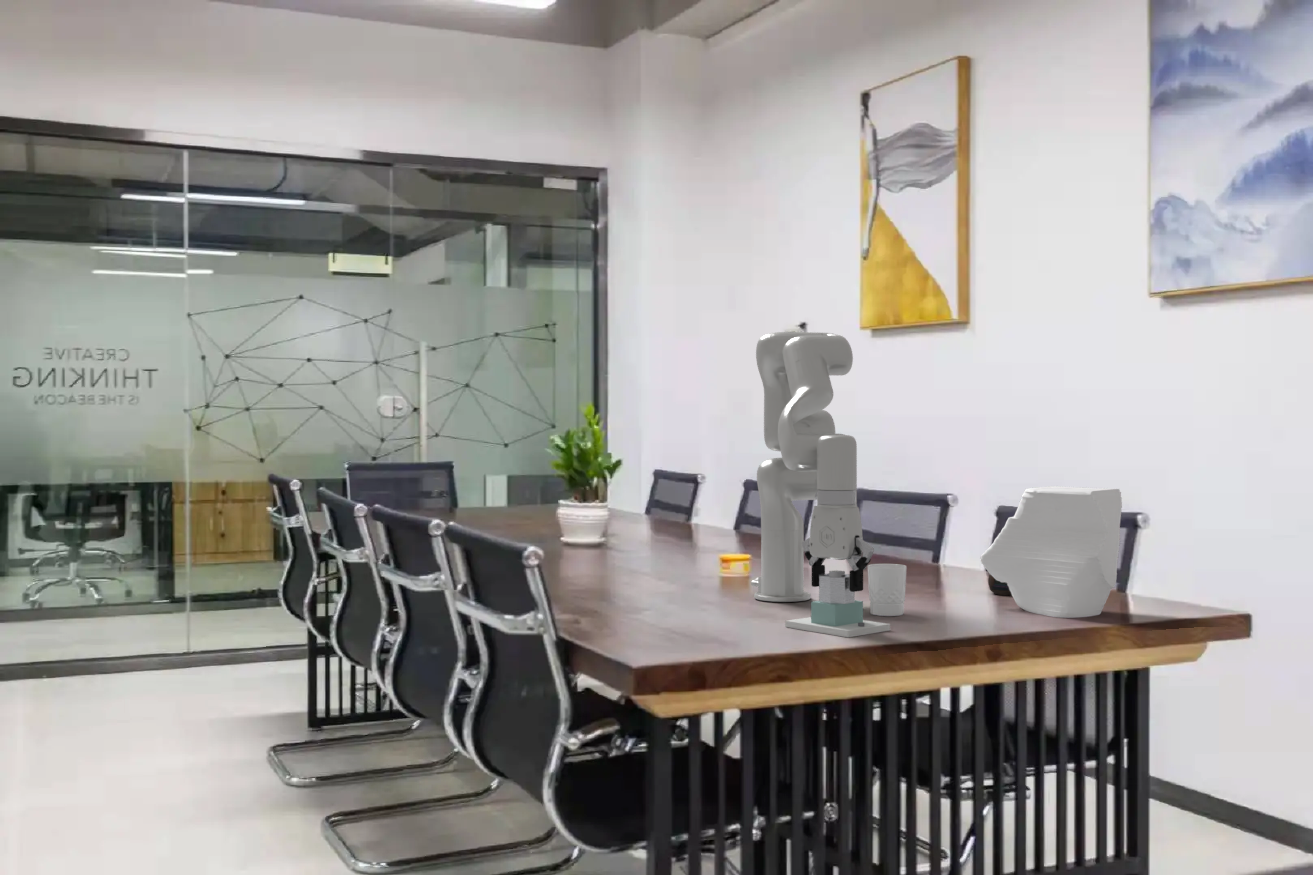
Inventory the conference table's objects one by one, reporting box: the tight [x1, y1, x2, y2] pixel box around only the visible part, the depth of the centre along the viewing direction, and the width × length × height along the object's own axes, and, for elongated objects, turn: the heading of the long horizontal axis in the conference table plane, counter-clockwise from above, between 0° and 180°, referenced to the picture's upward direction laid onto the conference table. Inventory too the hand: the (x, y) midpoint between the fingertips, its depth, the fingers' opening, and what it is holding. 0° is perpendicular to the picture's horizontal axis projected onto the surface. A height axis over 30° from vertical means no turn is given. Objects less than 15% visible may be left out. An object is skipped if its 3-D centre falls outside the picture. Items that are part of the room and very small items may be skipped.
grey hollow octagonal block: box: [818, 572, 856, 604], centre depth 245 cm, size 7×7×5 cm
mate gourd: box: [987, 573, 1012, 596], centre depth 293 cm, size 7×8×10 cm
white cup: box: [867, 563, 907, 617], centre depth 263 cm, size 8×8×10 cm
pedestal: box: [784, 569, 891, 638], centre depth 245 cm, size 16×12×11 cm
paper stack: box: [979, 485, 1123, 619], centre depth 269 cm, size 21×27×26 cm
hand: (837, 588), depth 245 cm, fingers open, 9 cm apart
